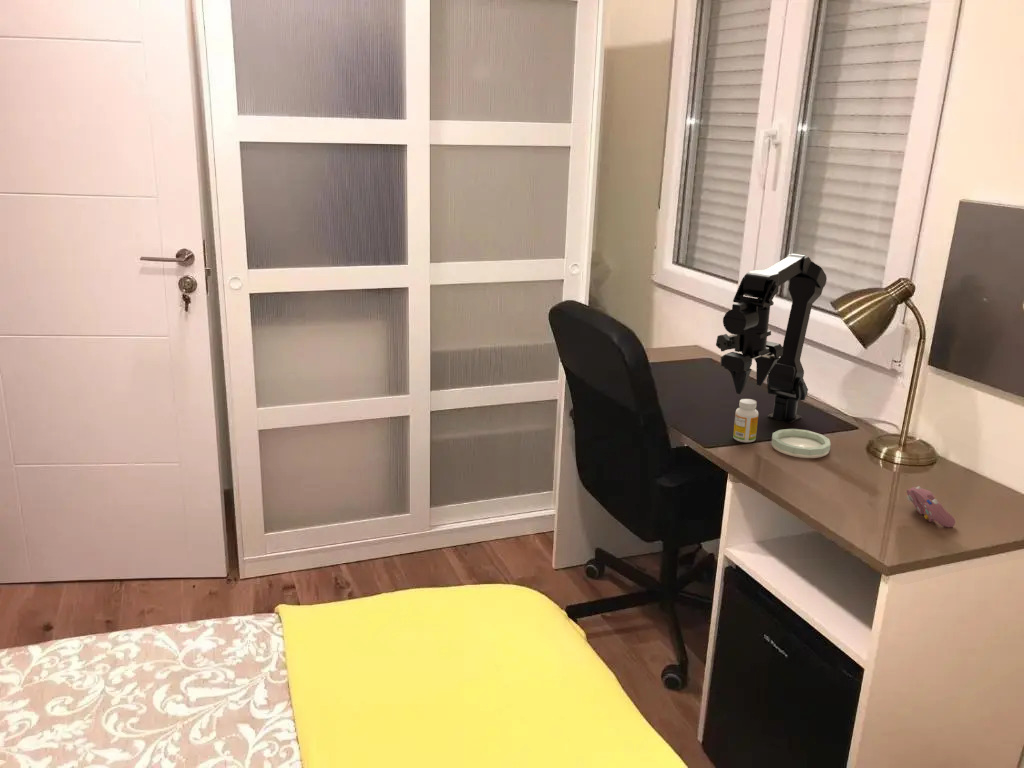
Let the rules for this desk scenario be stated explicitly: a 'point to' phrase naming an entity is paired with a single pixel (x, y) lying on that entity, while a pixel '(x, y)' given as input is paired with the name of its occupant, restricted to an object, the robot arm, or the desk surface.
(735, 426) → the supplement bottle
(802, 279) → the robot arm
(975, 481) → the desk surface
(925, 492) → the video game controller
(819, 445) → the round dish
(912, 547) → the desk surface
